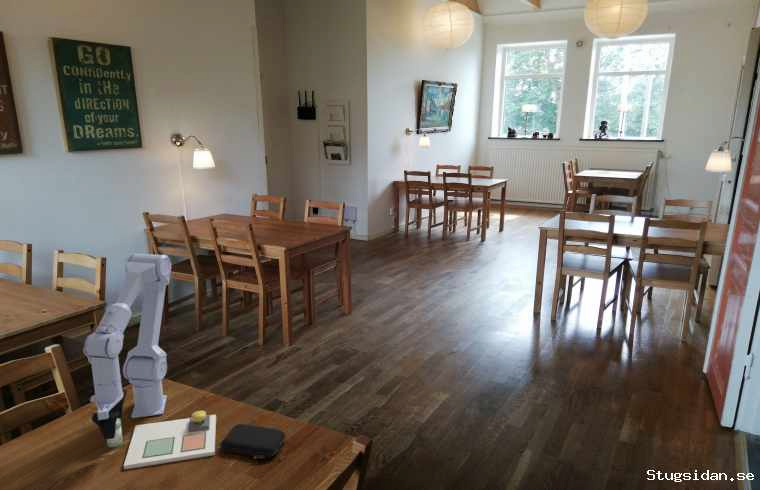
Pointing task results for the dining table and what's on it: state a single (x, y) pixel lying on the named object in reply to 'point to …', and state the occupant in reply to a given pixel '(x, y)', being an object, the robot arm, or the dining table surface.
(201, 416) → the button
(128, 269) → the robot arm
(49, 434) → the dining table surface
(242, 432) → the carrying case or bag
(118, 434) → the green bulb-shaped piece
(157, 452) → the colouring board
